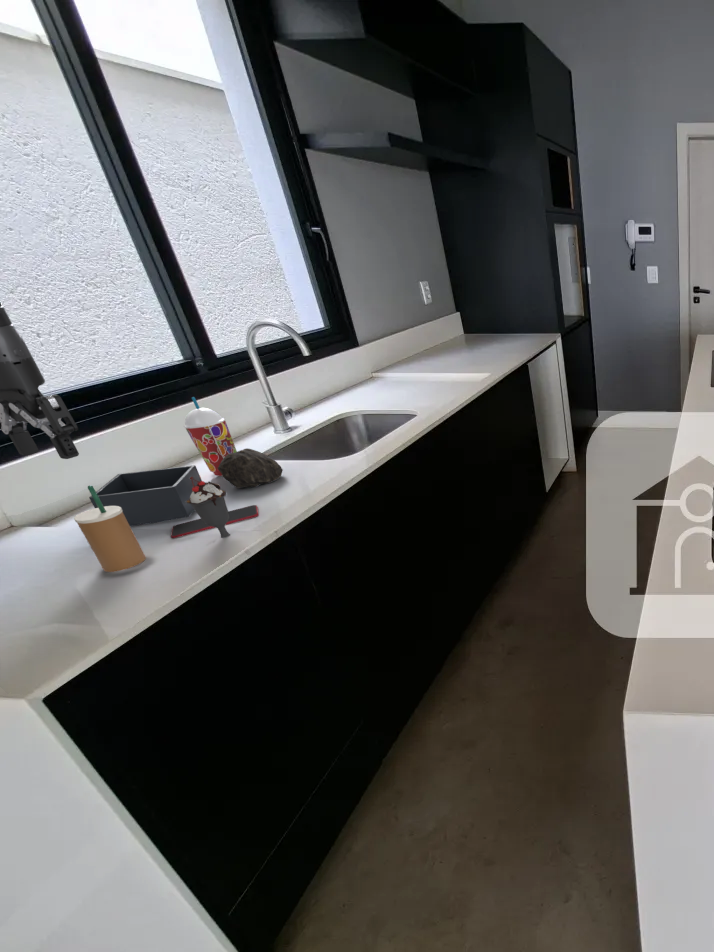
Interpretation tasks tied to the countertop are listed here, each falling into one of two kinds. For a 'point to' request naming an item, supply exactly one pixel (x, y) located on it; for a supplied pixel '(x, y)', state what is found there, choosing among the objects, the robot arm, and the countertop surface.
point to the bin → (151, 494)
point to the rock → (249, 468)
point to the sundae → (210, 505)
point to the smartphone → (201, 526)
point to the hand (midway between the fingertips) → (50, 455)
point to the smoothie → (209, 436)
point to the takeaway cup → (110, 536)
